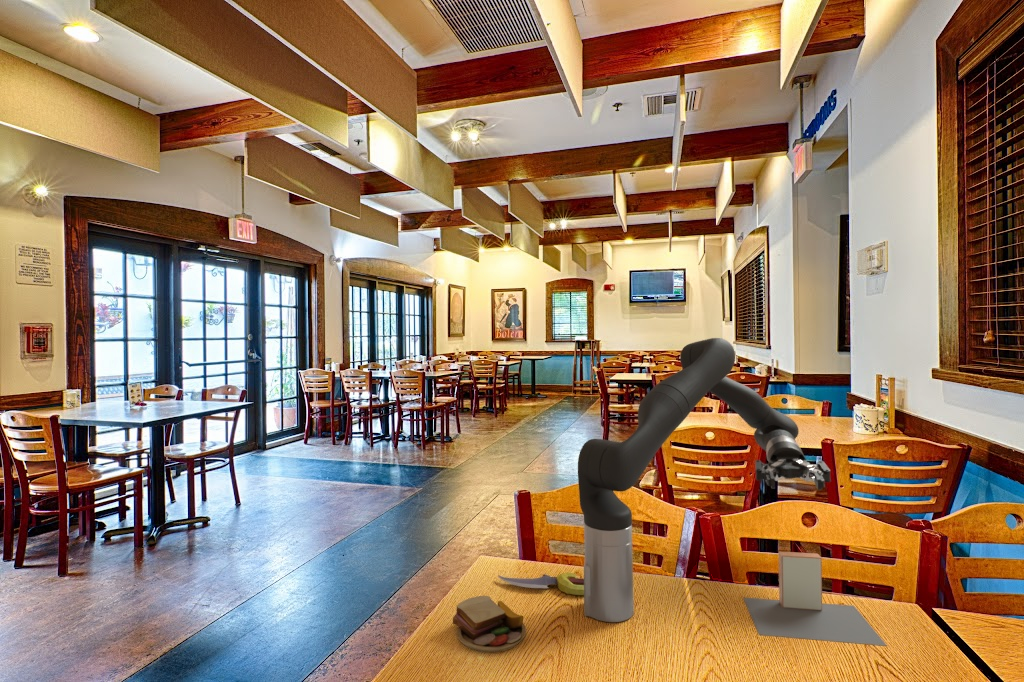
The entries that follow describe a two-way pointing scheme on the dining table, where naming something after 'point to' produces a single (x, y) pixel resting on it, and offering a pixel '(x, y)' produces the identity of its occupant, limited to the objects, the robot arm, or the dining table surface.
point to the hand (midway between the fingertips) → (796, 484)
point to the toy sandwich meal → (488, 625)
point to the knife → (552, 582)
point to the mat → (812, 622)
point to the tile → (800, 580)
